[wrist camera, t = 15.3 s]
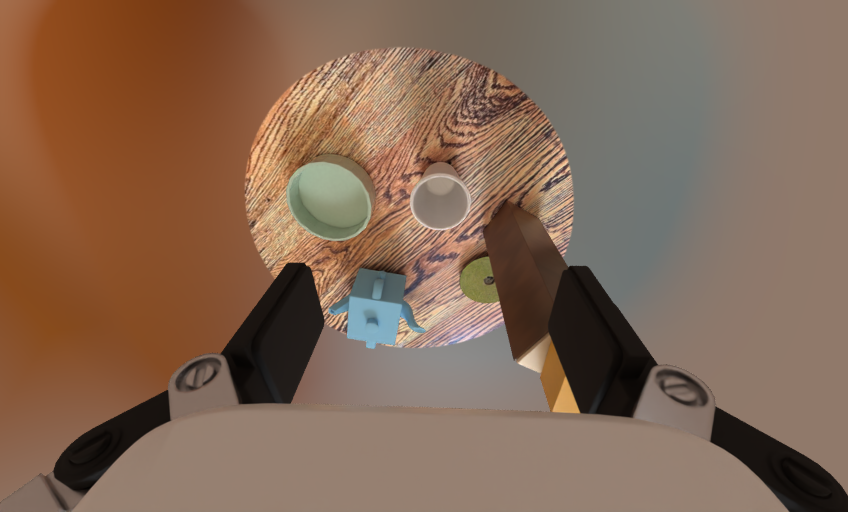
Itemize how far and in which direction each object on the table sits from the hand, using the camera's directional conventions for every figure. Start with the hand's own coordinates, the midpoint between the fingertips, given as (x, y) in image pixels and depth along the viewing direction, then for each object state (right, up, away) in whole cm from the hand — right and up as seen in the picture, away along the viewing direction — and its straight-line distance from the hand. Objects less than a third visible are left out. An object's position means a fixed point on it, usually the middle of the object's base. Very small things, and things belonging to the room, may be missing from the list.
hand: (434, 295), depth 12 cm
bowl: (-15, +12, +41) cm, 45 cm away
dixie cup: (+2, +14, +39) cm, 42 cm away
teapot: (-9, -5, +52) cm, 53 cm away
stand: (+15, +7, +43) cm, 46 cm away
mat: (+12, -2, +49) cm, 51 cm away
